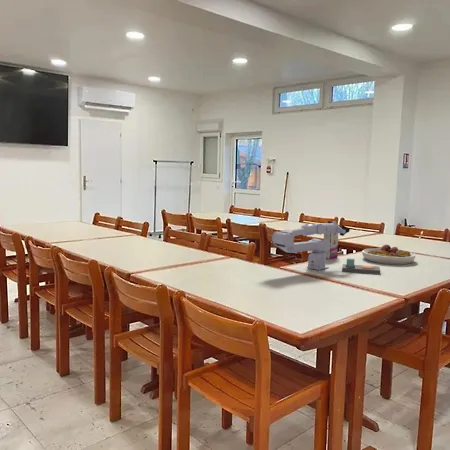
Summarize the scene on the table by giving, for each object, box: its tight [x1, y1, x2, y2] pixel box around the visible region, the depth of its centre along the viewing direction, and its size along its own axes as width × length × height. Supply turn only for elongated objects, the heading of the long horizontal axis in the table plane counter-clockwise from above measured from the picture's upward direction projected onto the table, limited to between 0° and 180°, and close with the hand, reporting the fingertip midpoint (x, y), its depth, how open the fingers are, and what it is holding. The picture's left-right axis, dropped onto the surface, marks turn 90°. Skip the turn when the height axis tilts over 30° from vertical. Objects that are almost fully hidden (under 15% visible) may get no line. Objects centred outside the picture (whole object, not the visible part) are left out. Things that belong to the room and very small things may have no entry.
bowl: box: [361, 244, 416, 265], centre depth 271 cm, size 30×30×8 cm
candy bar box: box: [323, 233, 339, 260], centre depth 275 cm, size 11×5×16 cm, turn 143°
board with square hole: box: [341, 263, 381, 275], centre depth 240 cm, size 19×10×2 cm, turn 74°
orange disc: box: [361, 265, 375, 269], centre depth 239 cm, size 7×7×1 cm
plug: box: [346, 258, 355, 268], centre depth 241 cm, size 4×4×6 cm
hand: (343, 228), depth 255 cm, fingers open, 7 cm apart
